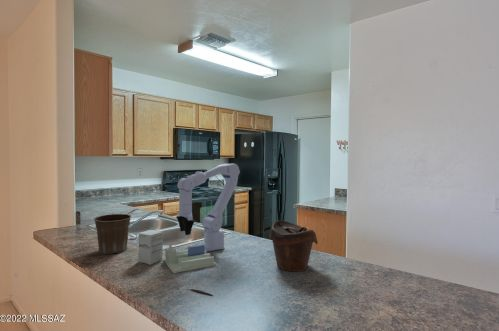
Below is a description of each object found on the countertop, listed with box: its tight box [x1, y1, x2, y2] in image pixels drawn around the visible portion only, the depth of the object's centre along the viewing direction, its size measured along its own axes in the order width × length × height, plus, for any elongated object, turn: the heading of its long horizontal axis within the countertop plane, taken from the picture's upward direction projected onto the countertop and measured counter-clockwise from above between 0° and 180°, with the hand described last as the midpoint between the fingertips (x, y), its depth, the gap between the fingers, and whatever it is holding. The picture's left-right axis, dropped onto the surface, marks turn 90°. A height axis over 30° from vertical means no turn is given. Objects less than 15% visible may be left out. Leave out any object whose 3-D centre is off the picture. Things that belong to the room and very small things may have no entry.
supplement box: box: [137, 229, 164, 265], centre depth 125 cm, size 7×7×13 cm
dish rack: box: [162, 243, 217, 274], centre depth 124 cm, size 18×16×8 cm
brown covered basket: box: [268, 220, 318, 272], centre depth 121 cm, size 18×20×18 cm
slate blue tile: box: [187, 244, 205, 257], centre depth 125 cm, size 7×2×6 cm, turn 120°
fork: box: [173, 281, 214, 297], centre depth 98 cm, size 3×16×2 cm, turn 62°
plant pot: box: [93, 213, 132, 255], centre depth 139 cm, size 16×16×16 cm
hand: (185, 232), depth 135 cm, fingers open, 7 cm apart
